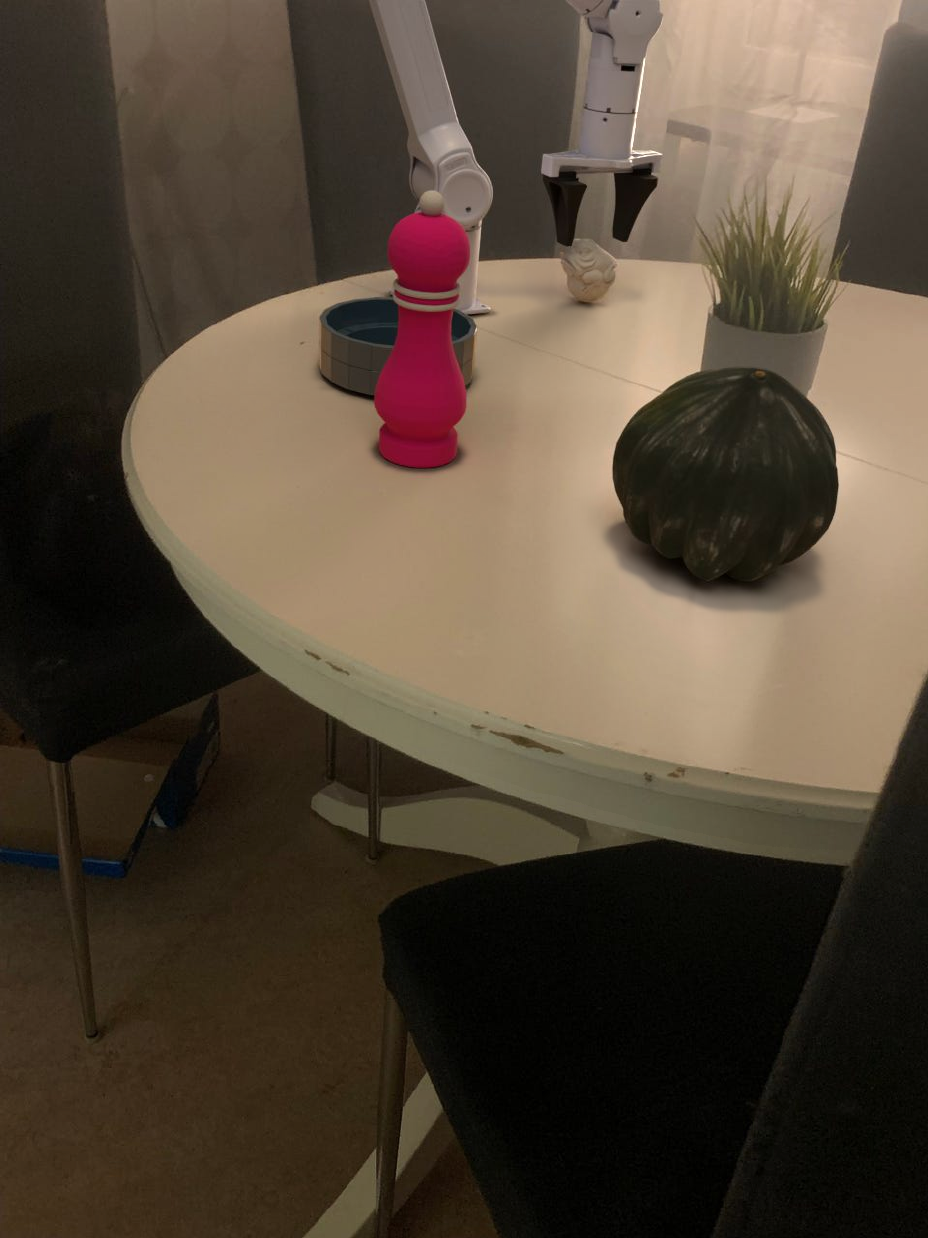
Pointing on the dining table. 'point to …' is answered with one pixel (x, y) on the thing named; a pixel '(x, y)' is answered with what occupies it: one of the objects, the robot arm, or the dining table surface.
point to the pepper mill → (423, 340)
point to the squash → (728, 473)
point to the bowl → (376, 341)
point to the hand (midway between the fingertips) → (592, 241)
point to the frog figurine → (588, 269)
